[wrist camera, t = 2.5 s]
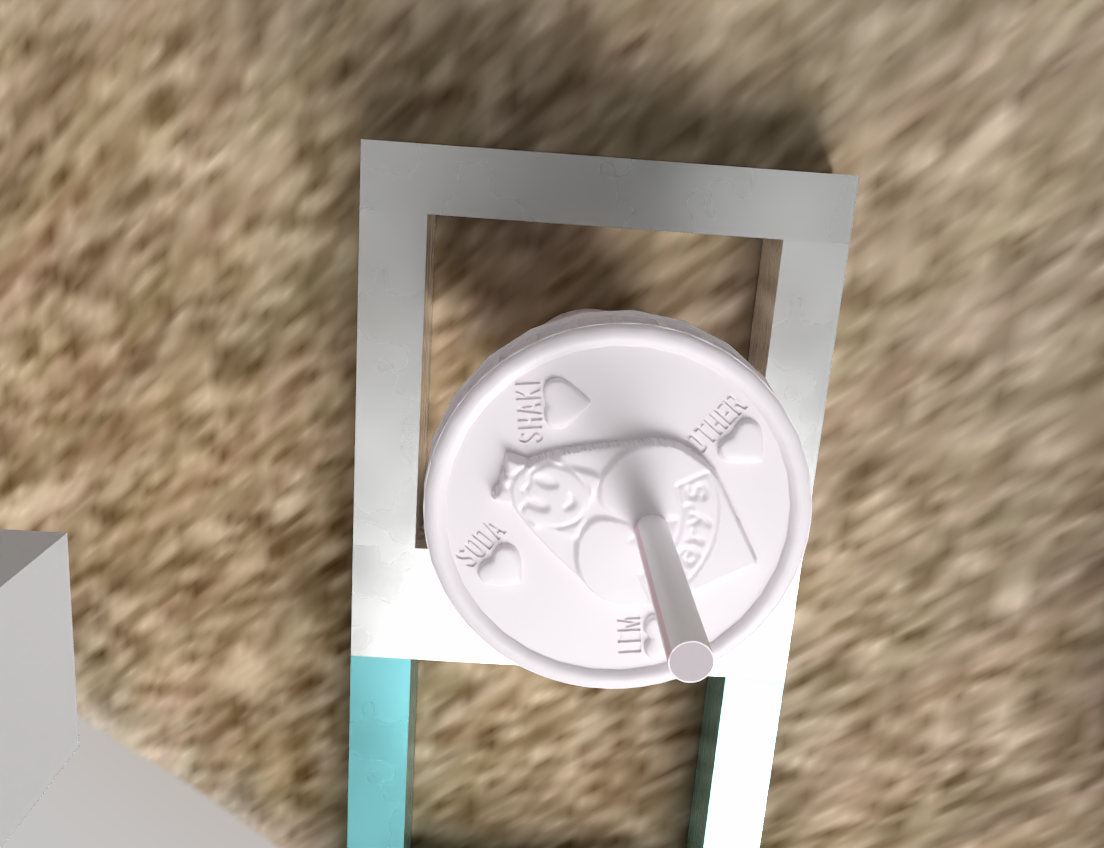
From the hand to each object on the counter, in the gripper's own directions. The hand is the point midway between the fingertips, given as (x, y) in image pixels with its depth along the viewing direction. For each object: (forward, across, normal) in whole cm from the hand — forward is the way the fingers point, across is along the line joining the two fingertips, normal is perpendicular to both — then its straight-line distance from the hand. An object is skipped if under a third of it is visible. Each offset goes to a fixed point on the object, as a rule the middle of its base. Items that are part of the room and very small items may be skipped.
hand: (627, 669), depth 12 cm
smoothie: (+14, 0, 0) cm, 14 cm away
